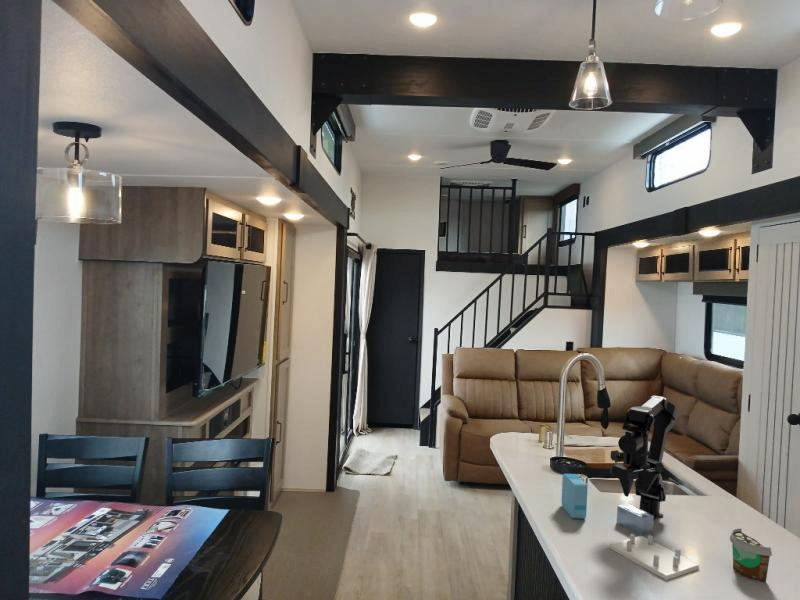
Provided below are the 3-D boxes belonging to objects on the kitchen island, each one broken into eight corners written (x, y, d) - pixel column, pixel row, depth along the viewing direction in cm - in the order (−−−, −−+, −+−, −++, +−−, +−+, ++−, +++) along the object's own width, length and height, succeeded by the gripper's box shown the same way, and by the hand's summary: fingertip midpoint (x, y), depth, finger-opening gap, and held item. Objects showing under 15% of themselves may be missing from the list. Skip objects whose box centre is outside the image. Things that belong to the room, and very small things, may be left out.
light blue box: (586, 520, 182) (587, 485, 182) (573, 520, 182) (574, 484, 182) (573, 505, 194) (575, 472, 194) (561, 505, 194) (562, 472, 194)
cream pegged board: (641, 539, 170) (641, 527, 170) (698, 568, 153) (699, 556, 153) (609, 548, 163) (610, 536, 163) (666, 580, 147) (667, 566, 146)
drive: (627, 520, 184) (628, 502, 183) (652, 533, 175) (653, 514, 174) (616, 523, 181) (617, 505, 181) (641, 536, 172) (642, 517, 172)
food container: (718, 561, 158) (720, 527, 158) (737, 561, 158) (739, 527, 158) (748, 585, 146) (750, 548, 145) (770, 584, 146) (772, 548, 146)
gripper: (636, 437, 189) (634, 481, 189) (598, 443, 180) (596, 489, 180) (665, 446, 179) (663, 493, 179) (626, 453, 170) (624, 502, 171)
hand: (635, 494), depth 178 cm, fingers open, 9 cm apart
